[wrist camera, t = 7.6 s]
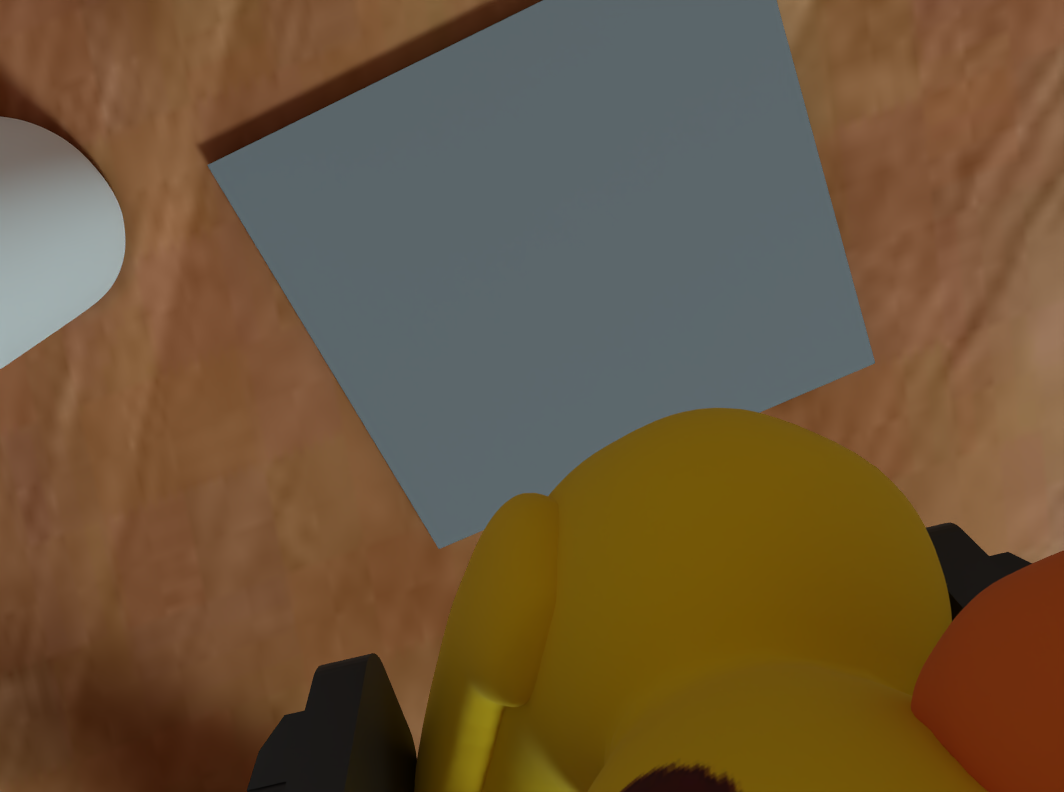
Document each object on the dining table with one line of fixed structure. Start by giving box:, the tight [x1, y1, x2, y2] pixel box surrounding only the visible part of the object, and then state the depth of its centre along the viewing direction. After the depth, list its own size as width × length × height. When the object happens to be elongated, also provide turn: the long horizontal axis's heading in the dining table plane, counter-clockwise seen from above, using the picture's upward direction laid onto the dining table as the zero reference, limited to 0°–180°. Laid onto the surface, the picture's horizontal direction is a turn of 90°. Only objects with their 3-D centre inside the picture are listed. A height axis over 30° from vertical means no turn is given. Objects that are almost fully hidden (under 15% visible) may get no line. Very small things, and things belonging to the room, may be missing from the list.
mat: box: [208, 0, 875, 549], centre depth 27 cm, size 18×16×1 cm
